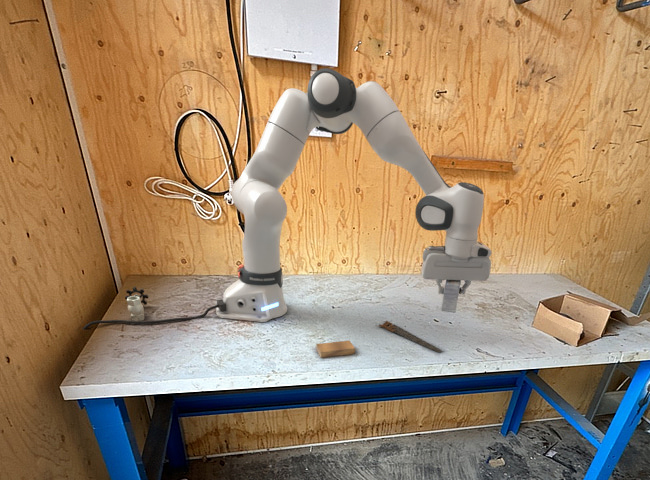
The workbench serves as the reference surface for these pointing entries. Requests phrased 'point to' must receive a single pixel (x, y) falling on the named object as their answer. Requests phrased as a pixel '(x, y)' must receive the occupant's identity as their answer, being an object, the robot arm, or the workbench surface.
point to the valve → (136, 304)
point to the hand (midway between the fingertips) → (451, 293)
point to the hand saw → (407, 335)
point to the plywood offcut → (335, 349)
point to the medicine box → (450, 295)
